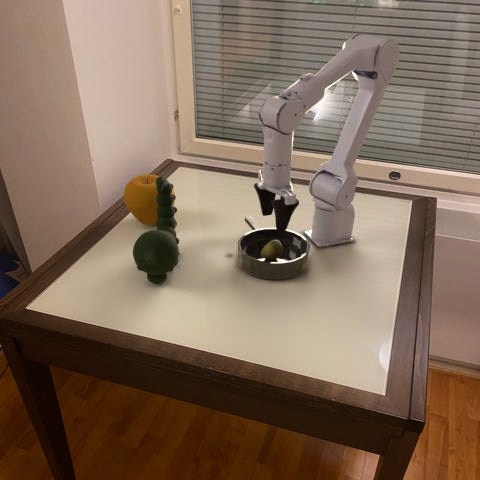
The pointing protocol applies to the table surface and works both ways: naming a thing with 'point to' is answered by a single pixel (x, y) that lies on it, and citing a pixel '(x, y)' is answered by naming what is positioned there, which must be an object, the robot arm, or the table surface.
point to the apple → (143, 198)
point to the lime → (272, 250)
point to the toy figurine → (159, 238)
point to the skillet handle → (253, 224)
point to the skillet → (281, 268)
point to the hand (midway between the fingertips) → (274, 222)
